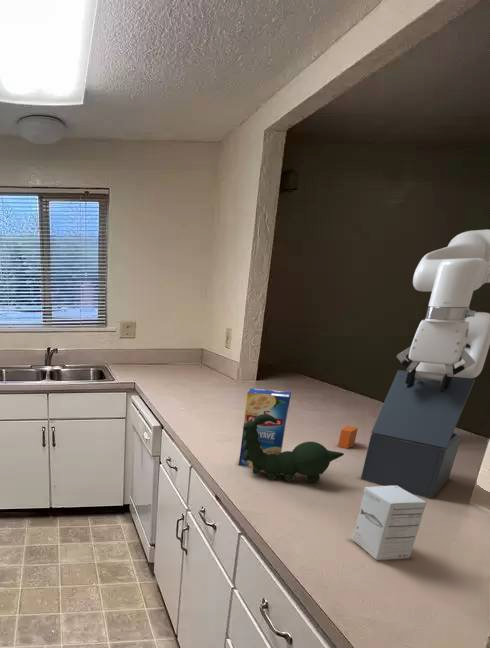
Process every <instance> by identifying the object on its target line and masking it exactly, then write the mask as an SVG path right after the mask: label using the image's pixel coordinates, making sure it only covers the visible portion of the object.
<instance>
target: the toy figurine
mask: <svg viewBox="0 0 490 648" xmlns="http://www.w3.org/2000/svg"><path fill="white" fill-rule="evenodd" d="M267 421H271V422H274V423H275V424H276V423H277V420H276V419H275V418H274V417H273V416H271V415H268V414H261V415H258V416H256V418H255V419H254V422H253V421H248V422H246V423H244V422H243V425H242V430H243V429H244V430H245V432H244V433H243V432H242V435H243V439H245V441H244V442H243V445H244V446H243V449H244V450H246V452H244V453H243V457H242V459H243V460H244V461H248V460H249V461H251V462H252V464H253V467H252V469H251V471H252V473H253V474H255V475H257V474H260V472H261V471H263V473H264V474H266V475H267V478H268V479H269V480H275V478H276V476H280V475H283V478H284V479H285V480H286V481H294V479H295V475H296V474H299V475H301V476H304V477H306V480H307V481H308V482H309V483H313V484H314V483H318V482H319V481H320V478H321V475H324V473H325V472H326V471H327V469H328V468H329V466H330V464H331V462H332V461H334V460H337V459H339V458H341V457H343V456H344V455H345V453H344V452H340V451H335V450H334V451H333V450H328V449H327V448H326V447H325V446H324V445H323V444H321V443H319V442H316V441H304V442H302V443H299V444H298V445H296V446H295V447H294V448H293V449H292V450H286V451H281V453H280V454H279V455H277V454H269V455H268V454H266V453H263V450H262V449H261V448H260V442H259V440H258V436H259V434H258V432H257V431H256V430H257V425H261V424H263V423H264V422H267Z"/></svg>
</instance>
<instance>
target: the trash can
mask: <svg viewBox="0 0 490 648" xmlns="http://www.w3.org/2000/svg"><path fill="white" fill-rule="evenodd" d="M462 436H463V434H462V433H461V434H460V433H456V432H453V434H452V437H451V439H450V442H449V444H448V447H447V449H443V448H439V447H434V446H429V445H424V444H420V443H415V442H410V441H406V440H401V439H396V438H391V437H387V436H382V435H377V434H372V433H371V434H370V438H369V442H368V446H367V451H366V455H365V459H364V464H363V467H362V471H361V477H360V480H364V481H367V482H371V483H374V484H378V485H380V486H399V487H400V488H402V489H404V490H406V491H408V492H409V493H411V494H413V495H417V496H420V497H424V498H426V499H427V498H428V499H433V497H435V495H436V494H437V493H438V492H439V490H440V489H441V488H442V487H443V486H444V485H445V484H446V482H447V481H448V480H449V479H450V476H451V472H452V469H453V466H454V464H455V459H456V457H457V454H458V450H459V446H460V443H461V441H462V438H463V437H462Z"/></svg>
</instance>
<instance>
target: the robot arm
mask: <svg viewBox="0 0 490 648" xmlns="http://www.w3.org/2000/svg"><path fill="white" fill-rule="evenodd" d="M486 283H487V284H490V229H477V230H475V229H474V230H467V231H464V232H461V233H459V234H456V236H454V237H453V238H452V239H451V240H450V241H449V242H448V245H447V246H445V247H442V248H439V249H436V250H433V251H430V252H428V253H426V254H425V255H423V257H422V258H421V259H420V260H419V262H418V264H417V266H416V268H415V270H414V273H413V277H412V285H413V288H414V289H415V290H416V291H418V292H427V293H428V292H431V294H430V298H429V302H428V306H427V310H426V313H425V318H424V319H421V321H420V322H419V325H418V327H417V329H416V331H415V333H414V337H413V339H412V342H411V345H410V346H408V347H407V348H406V349H404V350H402V351H401V352H398V353H397V355H396V358H397V359H398V361H399V363H401V364H402V366H403V367H404V368H405V369H406V371H408V374H407V378H406V384H407V388H411V387H413V386H414V382H415V378H414V376H415V372H416V371H423V372H432V373H441V374H446V375H445V376H444V377H443V380H442V384H441V387H440V391H439V392H442V393H443V392H445V391H446V389H449V388H450V385H451V381H452V378H453V377H462V378H471V379H475V378H477V377H478V376H479V375H480V374H481V373H482V370H483V369H484V365H485V362H486V359H487V356H488V353H489V349H490V313H489V312H484V311H476V310H472V309H470V304H471V301H472V298H473V294H474V291H477V290H478V289H480V288H481V287H482V286H483V285H485V284H486ZM467 345H469V347H466V346H467ZM407 355H408V358H407ZM411 361H412V362H411Z"/></svg>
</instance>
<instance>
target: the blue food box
mask: <svg viewBox="0 0 490 648" xmlns="http://www.w3.org/2000/svg"><path fill="white" fill-rule="evenodd" d="M291 395H292V391H285V390H275V389H264V388H254V387H253V388H252V387H251V388H250V389H249V390H248V392H247V395H246V403H245V411H244V420H243V424H244V423H246V422H248V421H253V422H254V419H255V418H256V416H258V415H261V414H268V415H271V416H273V417H274V418H275V419H276V420H277V423H276V424H275V423H274V422H271V421H267V422H264V423H263V424H261V425H257V430H256V431H257V432H258V434H259V436H258V440H259V442H260V448H261V449H262V450H263V453H266V454H268V455H269V454H277V455H279V454H280V453H282V452H283V451H282V450H283V444H284V438H285V433H286V432H285V431H286V426H287V419H288V413H289V407H290V402H291ZM244 432H245V430H244V429H243V428H242V436H241V443H240V444H241V445H240V451H239V460H238V466H243V467H249V468H253V464H252V462H251V461H249V460H248V461H244V460H243V459H242V457H243V453H244V452H246V450H244V449H243V446H244V445H243V442H244V441H245V439H243V433H244Z"/></svg>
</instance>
